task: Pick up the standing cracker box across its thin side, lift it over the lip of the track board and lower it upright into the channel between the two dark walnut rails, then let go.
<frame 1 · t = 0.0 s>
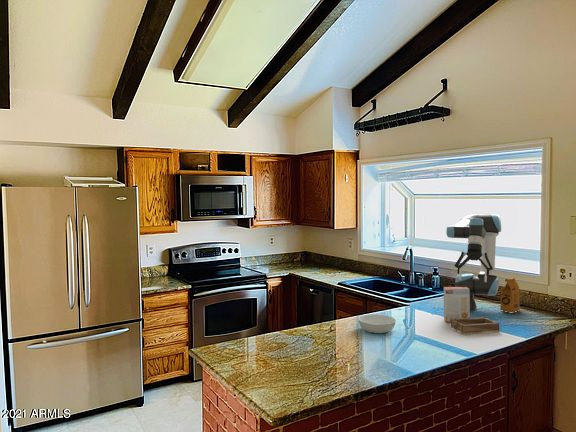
hand: (472, 280, 255), 28 cm above the counter, tool tilted 20°, fingers open, 13 cm apart
coffee package: (509, 311, 296), on the counter
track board: (474, 330, 255), on the counter
cracker box: (456, 322, 273), on the counter
serving bowl: (376, 331, 255), on the counter
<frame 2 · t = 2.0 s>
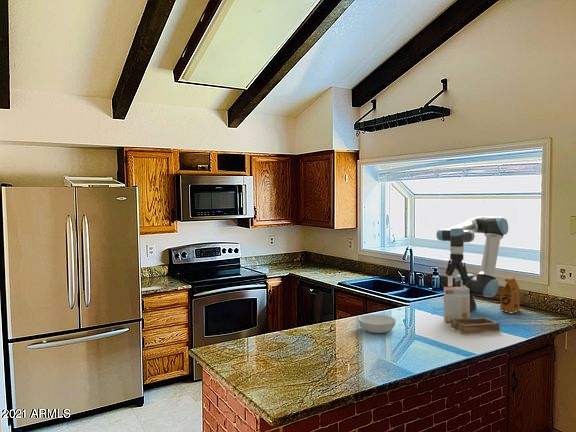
hand: (456, 288, 272), 20 cm above the counter, tool pointing down, fingers open, 13 cm apart
nothing on the counter moved.
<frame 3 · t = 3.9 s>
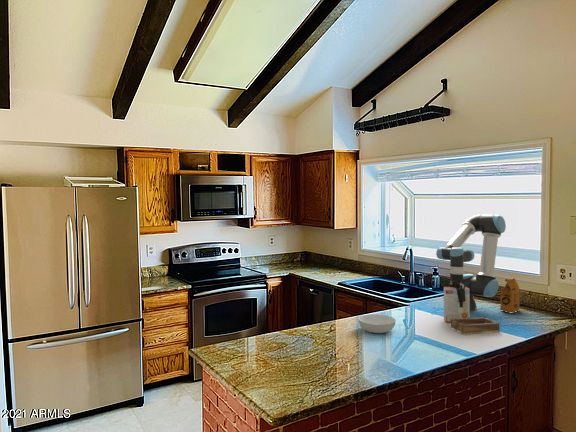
hand: (456, 310, 272), 7 cm above the counter, tool pointing down, fingers closed on cracker box, 7 cm apart
cracker box: (456, 322, 273), on the counter, touching gripper
everything else where it was.
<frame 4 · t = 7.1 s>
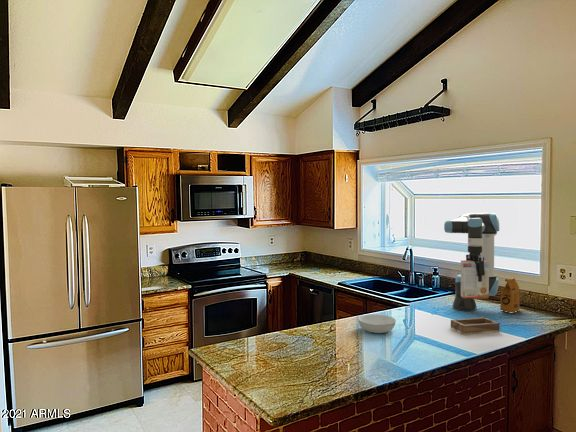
hand: (474, 285, 254), 25 cm above the counter, tool pointing down, fingers closed on cracker box, 7 cm apart
cracker box: (474, 297, 255), point 18 cm above the counter, touching gripper
everything else where it was.
when the fingers open (10 cm above the counter, at t = 9.9 s): cracker box drops 3 cm, resting on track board.
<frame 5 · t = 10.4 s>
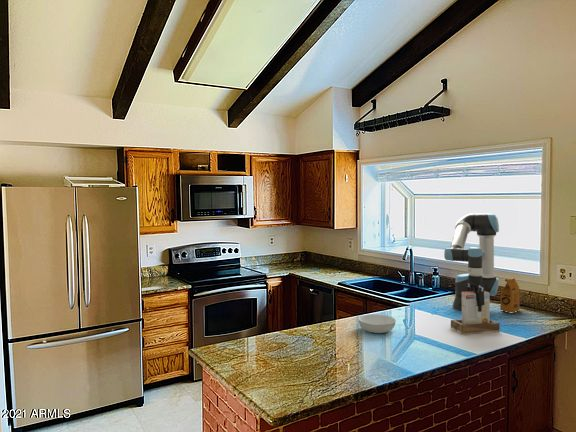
hand: (474, 315, 255), 8 cm above the counter, tool pointing down, fingers open, 6 cm apart
cracker box: (475, 328, 255), point 1 cm above the counter, touching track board
everything else where it was.
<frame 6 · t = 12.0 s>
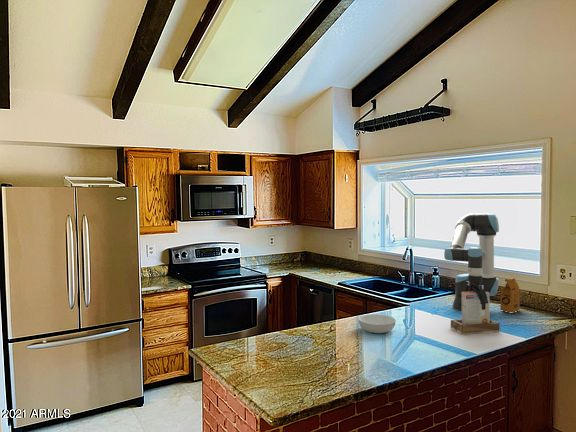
hand: (474, 312, 255), 10 cm above the counter, tool pointing down, fingers open, 13 cm apart
nothing on the counter moved.
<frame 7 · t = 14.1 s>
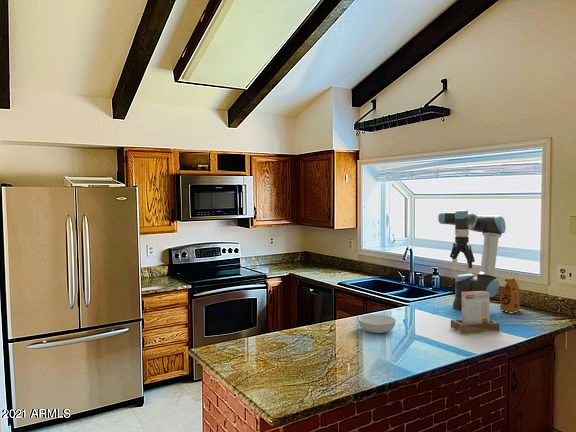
hand: (462, 271, 269), 31 cm above the counter, tool pointing down, fingers open, 13 cm apart
nothing on the counter moved.
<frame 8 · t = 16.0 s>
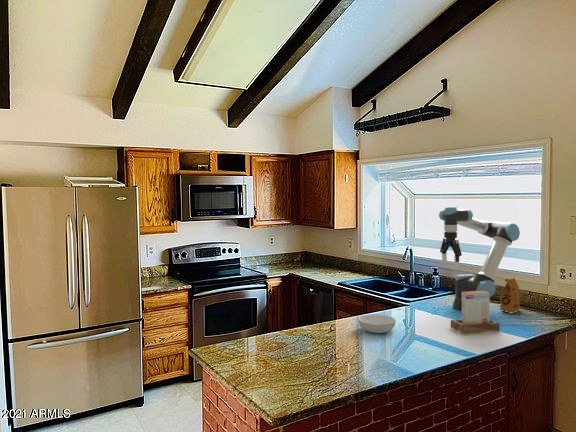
hand: (450, 265, 281), 33 cm above the counter, tool pointing down, fingers open, 13 cm apart
nothing on the counter moved.
at the end: cracker box 0.4 cm from the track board (horizontally); cracker box tilted 0°; the gripper is holding nothing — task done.
